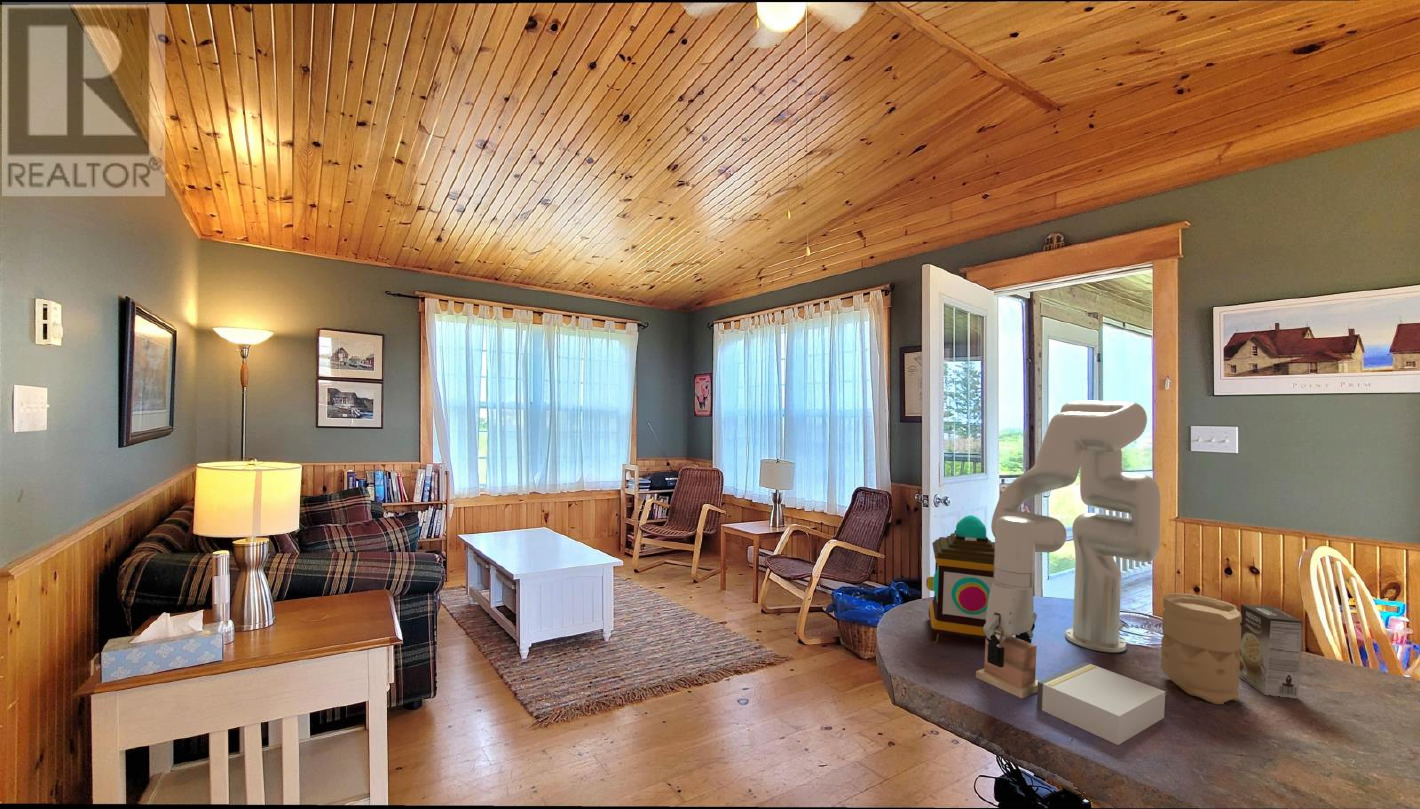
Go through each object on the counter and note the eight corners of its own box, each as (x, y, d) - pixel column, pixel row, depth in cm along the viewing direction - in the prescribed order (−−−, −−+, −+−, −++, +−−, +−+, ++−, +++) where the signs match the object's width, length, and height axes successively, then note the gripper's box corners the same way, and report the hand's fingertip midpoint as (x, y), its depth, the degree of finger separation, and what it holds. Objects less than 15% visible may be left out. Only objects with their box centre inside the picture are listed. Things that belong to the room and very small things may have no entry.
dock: (1084, 685, 124) (1085, 661, 124) (1164, 717, 113) (1165, 690, 112) (1036, 707, 115) (1037, 681, 115) (1118, 745, 103) (1119, 715, 103)
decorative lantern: (923, 616, 162) (927, 505, 162) (1004, 627, 156) (1009, 511, 155) (925, 644, 143) (930, 518, 143) (1018, 658, 137) (1023, 527, 136)
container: (1245, 693, 123) (1249, 606, 123) (1228, 711, 116) (1232, 618, 116) (1170, 670, 133) (1174, 589, 133) (1150, 685, 126) (1154, 599, 126)
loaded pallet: (997, 670, 131) (998, 628, 131) (1043, 689, 122) (1045, 645, 122) (975, 677, 127) (977, 635, 127) (1022, 698, 118) (1024, 653, 118)
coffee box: (1235, 675, 132) (1238, 602, 132) (1269, 679, 131) (1272, 605, 130) (1264, 695, 123) (1268, 617, 123) (1301, 699, 122) (1305, 620, 121)
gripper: (1019, 568, 132) (1015, 645, 132) (971, 577, 123) (967, 661, 123) (1054, 577, 126) (1050, 658, 126) (1006, 588, 116) (1002, 676, 116)
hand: (1009, 659), depth 124 cm, fingers open, 9 cm apart
